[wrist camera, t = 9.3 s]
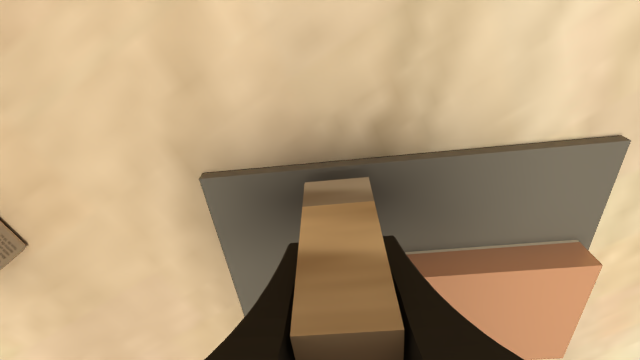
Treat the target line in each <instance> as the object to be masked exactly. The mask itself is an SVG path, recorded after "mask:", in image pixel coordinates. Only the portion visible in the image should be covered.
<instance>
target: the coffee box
mask: <svg viewBox="0 0 640 360" xmlns="http://www.w3.org/2000/svg"><path fill="white" fill-rule="evenodd" d="M25 248H26V245H25V244H24V243H23V242H22V241H21V240H20V239H19V238H18V237H17V236H16V235H15V234H14V233H13V232H12V231H11V230H10V229H8V228H7V227H6V226H5V225H4V224H3V223H2V222H1V221H0V270H1V269H2V268H3V267H5V266H6V265H7V264H8V263H9V262H10V261H11V260H13V259H14V258H15V257H16V256H17V255H18V254H20V253H21V252H22V251H23V250H24V249H25Z"/></svg>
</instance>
